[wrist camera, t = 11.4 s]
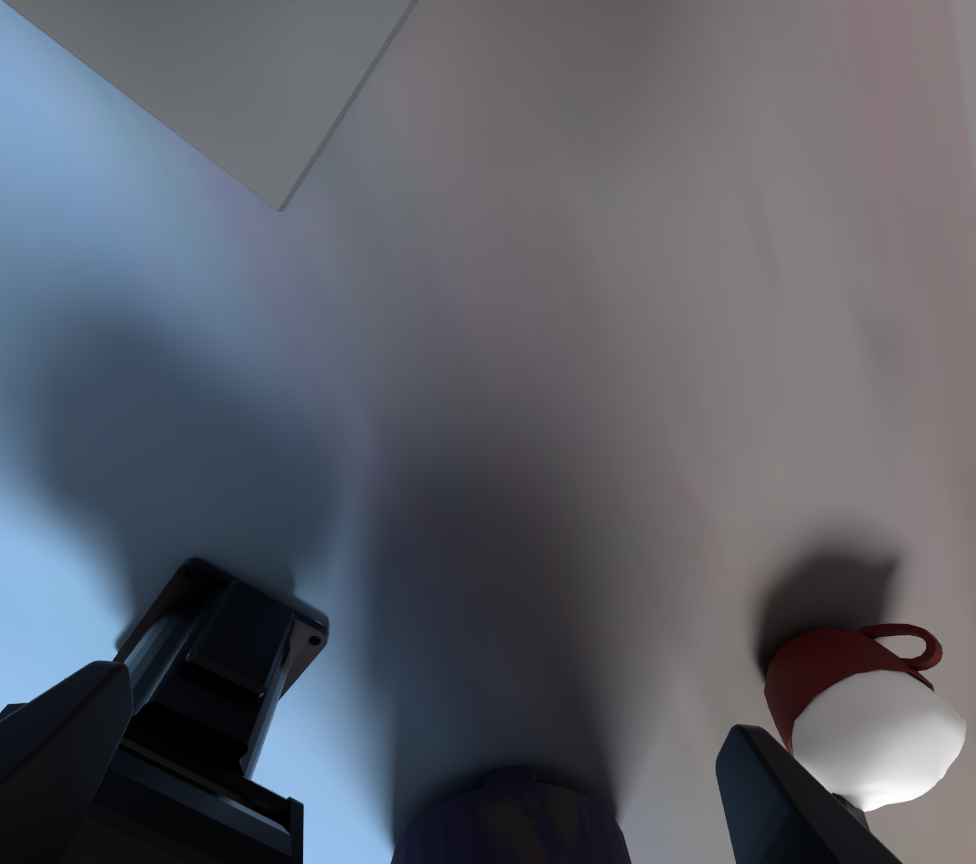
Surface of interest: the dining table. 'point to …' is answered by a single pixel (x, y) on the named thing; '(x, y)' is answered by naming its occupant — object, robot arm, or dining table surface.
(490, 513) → the dining table surface
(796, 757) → the cocoa
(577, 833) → the red-banded navy cylinder
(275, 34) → the rubber mat
